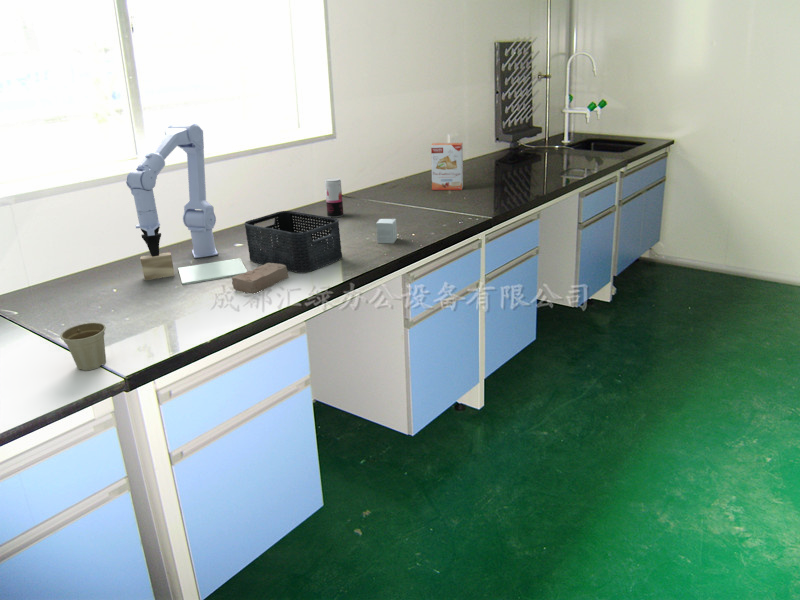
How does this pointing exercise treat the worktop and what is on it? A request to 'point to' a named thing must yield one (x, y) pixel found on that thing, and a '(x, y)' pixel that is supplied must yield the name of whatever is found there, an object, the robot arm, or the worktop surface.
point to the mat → (211, 271)
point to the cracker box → (447, 166)
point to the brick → (260, 278)
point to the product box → (386, 231)
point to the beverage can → (334, 197)
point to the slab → (157, 266)
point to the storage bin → (294, 241)
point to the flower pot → (86, 345)
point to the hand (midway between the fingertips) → (154, 252)
